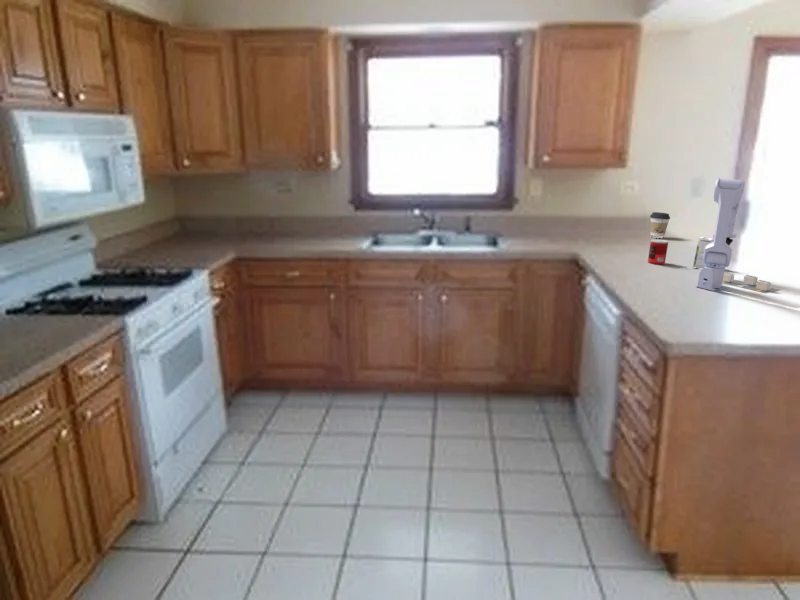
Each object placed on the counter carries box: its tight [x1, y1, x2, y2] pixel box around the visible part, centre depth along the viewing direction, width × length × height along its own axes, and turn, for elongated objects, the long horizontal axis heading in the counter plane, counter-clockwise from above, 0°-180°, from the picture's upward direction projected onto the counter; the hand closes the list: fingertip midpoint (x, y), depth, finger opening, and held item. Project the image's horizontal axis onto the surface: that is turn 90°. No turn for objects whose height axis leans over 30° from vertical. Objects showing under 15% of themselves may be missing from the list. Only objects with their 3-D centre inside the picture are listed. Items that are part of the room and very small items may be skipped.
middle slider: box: [743, 274, 759, 285], centre depth 255 cm, size 3×4×3 cm
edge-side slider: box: [756, 279, 772, 291], centre depth 247 cm, size 3×4×3 cm
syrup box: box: [692, 236, 714, 268], centre depth 287 cm, size 6×6×14 cm
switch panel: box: [722, 279, 780, 294], centre depth 254 cm, size 12×22×1 cm, turn 33°
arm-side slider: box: [723, 271, 735, 282], centre depth 259 cm, size 3×4×3 cm
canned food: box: [647, 238, 669, 266], centre depth 295 cm, size 8×8×11 cm
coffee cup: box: [649, 211, 671, 237], centre depth 367 cm, size 11×11×15 cm
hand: (721, 254), depth 267 cm, fingers closed
